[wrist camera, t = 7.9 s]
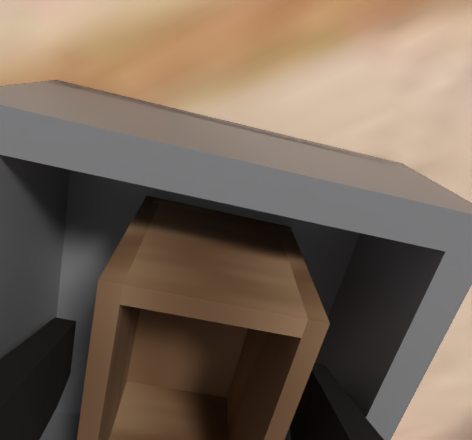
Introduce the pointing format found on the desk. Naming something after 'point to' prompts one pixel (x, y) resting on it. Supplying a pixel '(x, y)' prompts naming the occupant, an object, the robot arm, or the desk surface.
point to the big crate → (234, 202)
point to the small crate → (200, 329)
